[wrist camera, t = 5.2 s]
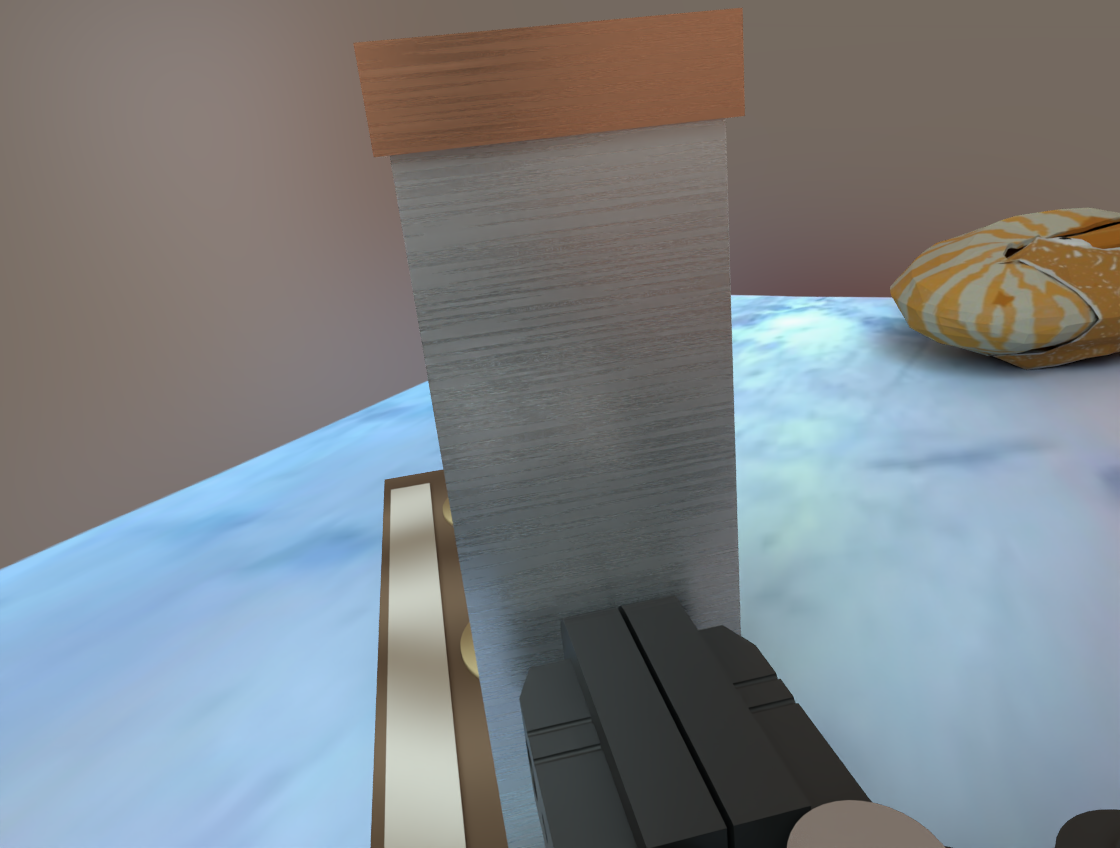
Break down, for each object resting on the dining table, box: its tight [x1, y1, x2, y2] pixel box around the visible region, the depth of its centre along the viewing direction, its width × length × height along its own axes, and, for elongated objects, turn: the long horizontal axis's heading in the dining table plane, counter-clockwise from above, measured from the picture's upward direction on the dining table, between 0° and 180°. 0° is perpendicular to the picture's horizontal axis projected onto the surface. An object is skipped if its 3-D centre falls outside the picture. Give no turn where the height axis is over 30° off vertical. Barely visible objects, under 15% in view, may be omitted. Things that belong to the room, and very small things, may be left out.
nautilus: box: [890, 208, 1120, 370], centre depth 42 cm, size 8×22×15 cm
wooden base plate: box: [371, 470, 508, 848], centre depth 20 cm, size 27×9×14 cm, turn 12°
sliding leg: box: [354, 8, 745, 848], centre depth 11 cm, size 4×4×13 cm
